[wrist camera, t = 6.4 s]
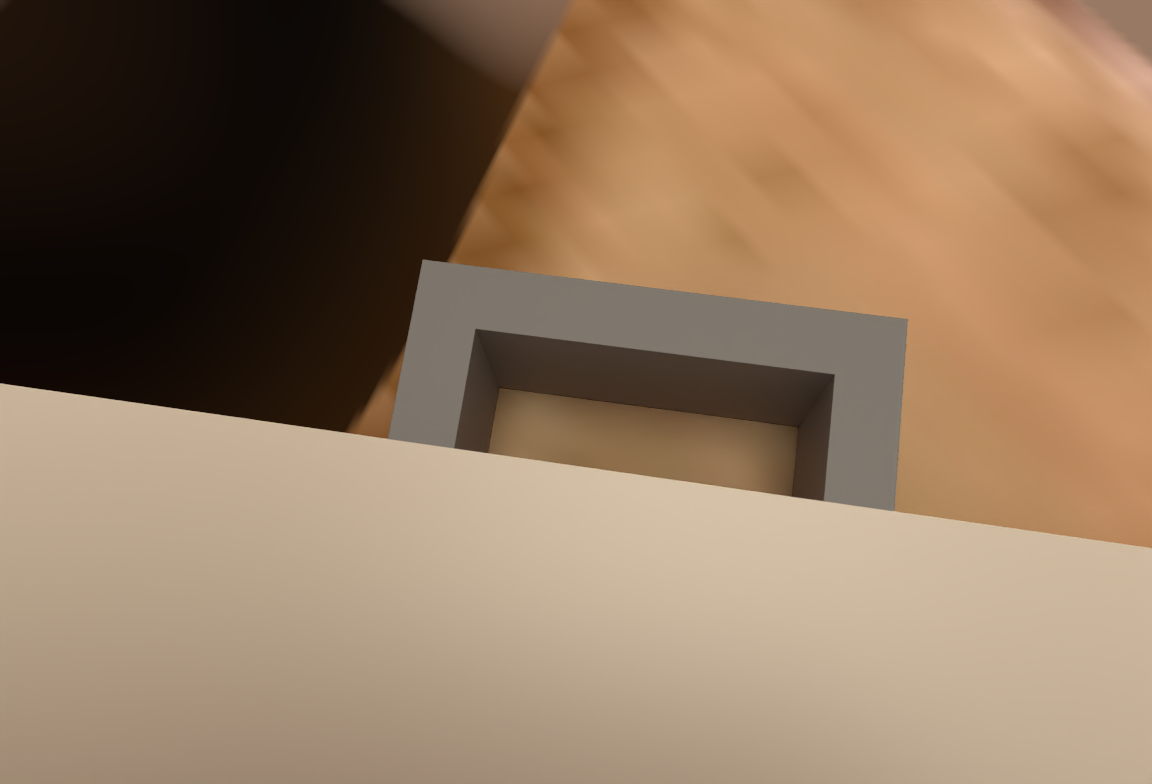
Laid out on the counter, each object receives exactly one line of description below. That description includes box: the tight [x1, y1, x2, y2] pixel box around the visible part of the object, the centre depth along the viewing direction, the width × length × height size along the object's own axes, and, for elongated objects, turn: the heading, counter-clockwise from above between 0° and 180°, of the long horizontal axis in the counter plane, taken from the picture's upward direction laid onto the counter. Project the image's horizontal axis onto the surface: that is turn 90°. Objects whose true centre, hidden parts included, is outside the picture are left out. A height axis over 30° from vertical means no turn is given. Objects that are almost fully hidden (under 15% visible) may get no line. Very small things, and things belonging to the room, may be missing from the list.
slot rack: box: [388, 260, 908, 511], centre depth 20 cm, size 15×9×4 cm, turn 172°
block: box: [0, 384, 1152, 784], centre depth 9 cm, size 2×5×12 cm, turn 81°
